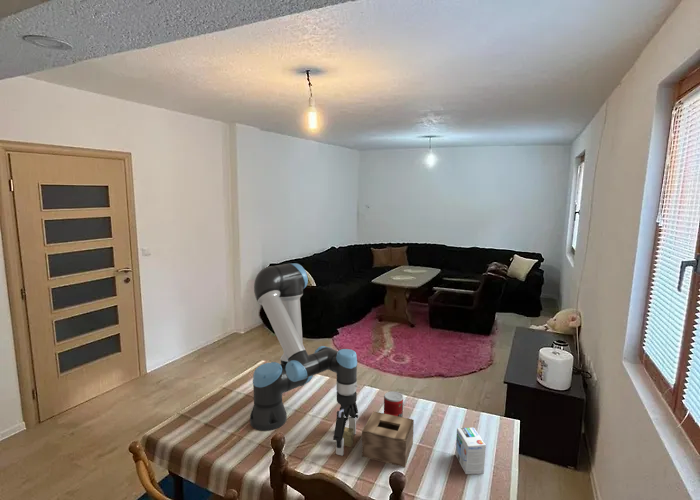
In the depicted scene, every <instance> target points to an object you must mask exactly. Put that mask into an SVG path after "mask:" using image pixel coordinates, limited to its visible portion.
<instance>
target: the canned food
mask: <svg viewBox="0 0 700 500" xmlns="http://www.w3.org/2000/svg"><path fill="white" fill-rule="evenodd" d="M403 408H404V395H403V394H402V393H400V392H398V391H392V390H391V391H388V392H385V393H384V396H383V413H384V414H389V415H393V416H398V417H403V413H404V409H403ZM403 418H404V417H403Z"/></svg>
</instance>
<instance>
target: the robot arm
mask: <svg viewBox="0 0 700 500" xmlns="http://www.w3.org/2000/svg"><path fill="white" fill-rule="evenodd" d="M308 283H309V279H308V273H307V272H306V269H305V268H304V267H303V266H302V265H301V264H299V263H283V264H279V265H271V266H266V267H264V268H262V269H261V270H260V271H259V272H258V274H257V275H256V277H255V279H254V283H253V293H254V296H255V299H256V301H257V304H259V305H260V306H262V308H263V310H264V312H265V314H266V317H267V318H268V320H269V323H270V325H271V327H272V330H273V331H274V334H275V336H276V338H277V340H278V342H279V344H280V347H281V348H282V351H283V353H282V355H281V356H280V363H279V362H275V361H271V362H266V363H262V364H260V365H259V366H258V367H256V368H255V370H254V371H253V377H252V384H253V388H252V389H253V390H252V391H253V406H252V408H251V409H252V410H251V413H250V415H249V425H250V426H251V427H252V428H253V429H255V430H257V431H272V430H276V429H279V428H280V427H282V426H283V425H284V424H285V423H287V422H286V421H287V420H288V418H287V414H288V413H287V411H286V408H285V405H284V402H283V394H284V393H286V392H289V391H291V390H295V389H297V388H300V387H303V386H304V385H306V384H308V383H310V382H311V380H312V379H313V377H314V376H315V375H318V374H320V373H323V372H326V371H331V372H334V373H335V374H336V388H335V389H336V402H337V403H338V404H339V405H340V406H339V410H337V412H336V419H335V426H334V433H333V438H332V439H333V441H335V454H336V455H338V456H341V457H342V456H343V457H344V455H345V454H344V452H345V451H344V447H345V446H344V438H343V434H344V429H345V427H346V422H347V421H348V428H352V429H353V435H356V434H357V419H358V418H359V414H358V413H359V409H358V406H357V397H358V396H357V393H358V392H357V388H358V386H359V384H357V376H358V375H357V374H358V371H357V370H358V359H357V356H358V355H357V353H356V351H355V350H353V349H349V348H342V349H339V350H336V349H333V348H332V347H330V346H325V345H321V346H318V348H317V349H315V351H314V352H313V353H310V354H308V352H307V349H306V348H305V346H304V342H303V341H304V339H303V327H302V310H301V298H302V296H303V295H304V289H305V288H306V287H307V286H308Z"/></svg>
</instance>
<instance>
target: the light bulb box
mask: <svg viewBox="0 0 700 500" xmlns="http://www.w3.org/2000/svg"><path fill="white" fill-rule="evenodd" d="M455 440H456V442H455V456H456V458H457V460H458V462H459V464H460V466H461V468H462V469H463V471H464V473H465V475H477V474H479V475H482V474H484V473H485V461H486V460H485V459H486V447H487V446H486V445H487V444H486V443H485V442H484V441H483V439H482V437H481V435H480V434H479V433H478V431H477V430H476V428H475V427H460V428H459V427H457V428H456V439H455Z"/></svg>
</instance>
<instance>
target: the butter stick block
mask: <svg viewBox="0 0 700 500" xmlns="http://www.w3.org/2000/svg"><path fill="white" fill-rule="evenodd" d="M343 438H344V447H348V448H352V446H353V445H354V434H353V429H352V428H349V427H347V426H345V429H344V434H343Z"/></svg>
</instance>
